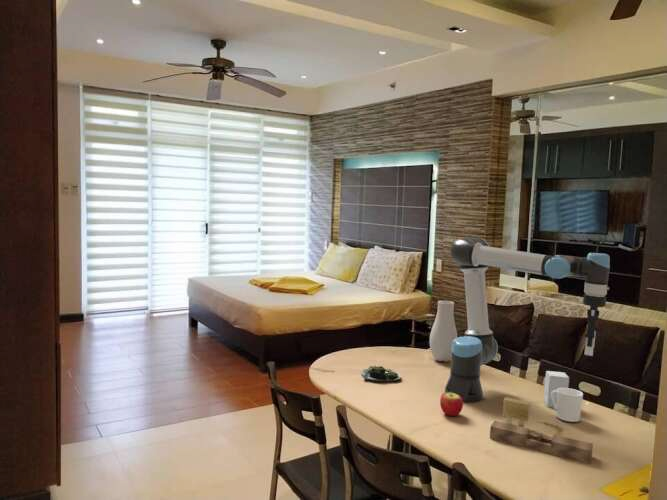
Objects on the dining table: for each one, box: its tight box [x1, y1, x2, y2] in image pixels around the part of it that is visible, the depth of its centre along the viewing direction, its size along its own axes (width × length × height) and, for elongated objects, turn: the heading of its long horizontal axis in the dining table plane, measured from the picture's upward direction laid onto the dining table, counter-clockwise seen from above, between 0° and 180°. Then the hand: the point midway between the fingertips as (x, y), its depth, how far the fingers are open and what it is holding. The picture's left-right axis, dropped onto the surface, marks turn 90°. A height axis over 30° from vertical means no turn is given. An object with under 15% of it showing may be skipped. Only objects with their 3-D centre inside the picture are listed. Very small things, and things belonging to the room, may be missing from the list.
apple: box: [439, 387, 464, 417], centre depth 190 cm, size 8×8×10 cm
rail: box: [489, 420, 594, 465], centre depth 167 cm, size 30×6×4 cm, turn 60°
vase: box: [429, 300, 458, 363], centre depth 261 cm, size 14×14×30 cm
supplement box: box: [543, 370, 570, 409], centre depth 206 cm, size 7×7×13 cm
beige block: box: [502, 396, 531, 428], centre depth 183 cm, size 8×3×9 cm, turn 60°
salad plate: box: [361, 365, 402, 384], centre depth 232 cm, size 19×18×5 cm
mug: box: [551, 387, 584, 424], centre depth 192 cm, size 11×9×10 cm
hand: (589, 351), depth 194 cm, fingers open, 13 cm apart
